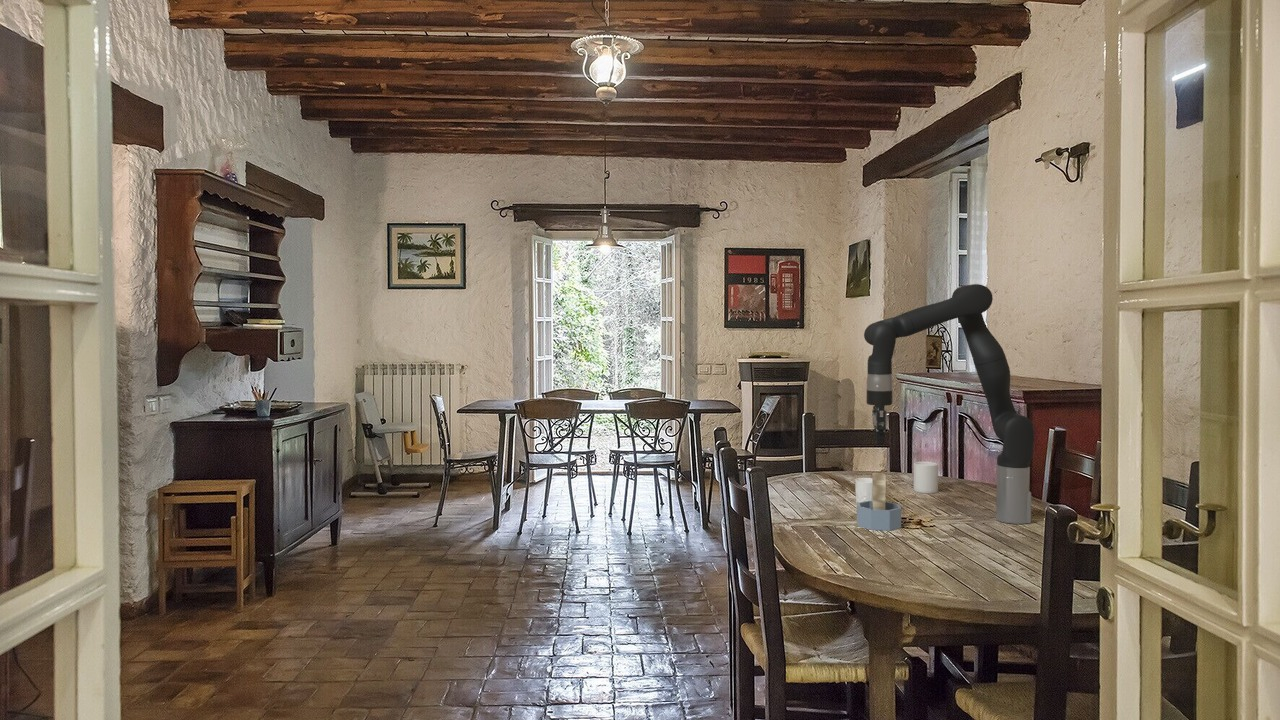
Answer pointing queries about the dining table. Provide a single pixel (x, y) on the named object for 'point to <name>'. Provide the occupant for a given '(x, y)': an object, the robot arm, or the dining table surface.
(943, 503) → the dining table surface
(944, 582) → the dining table surface
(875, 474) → the tan square peg
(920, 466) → the mug
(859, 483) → the white cup
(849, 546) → the dining table surface
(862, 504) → the blue octagonal holder
